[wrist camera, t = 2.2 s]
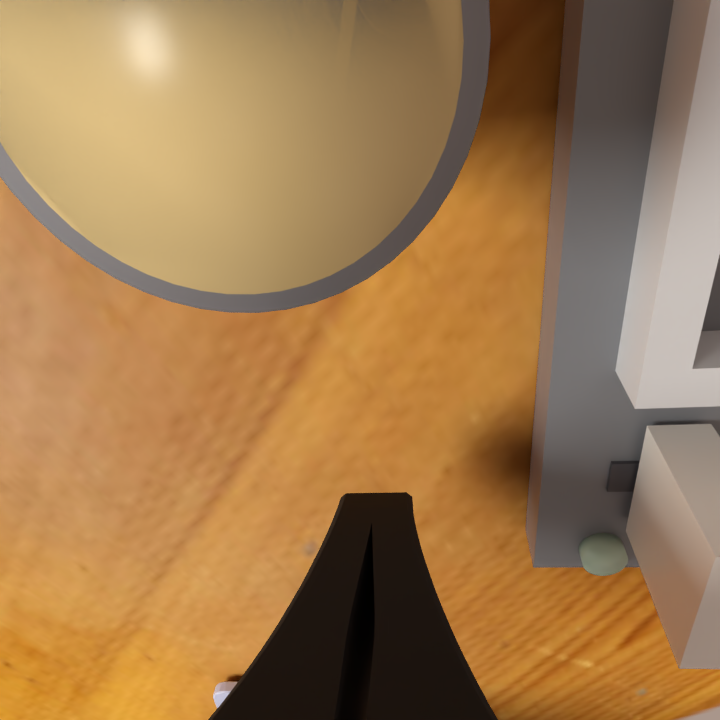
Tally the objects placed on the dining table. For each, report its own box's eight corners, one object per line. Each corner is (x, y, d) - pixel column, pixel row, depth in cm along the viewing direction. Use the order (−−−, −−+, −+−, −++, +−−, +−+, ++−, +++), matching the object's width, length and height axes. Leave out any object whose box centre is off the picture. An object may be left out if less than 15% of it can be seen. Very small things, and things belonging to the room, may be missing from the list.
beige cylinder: (450, 147, 11) (486, 301, 6) (212, 166, 11) (49, 323, 6) (445, -179, 8) (498, -408, 3) (144, -137, 9) (-206, -283, 4)
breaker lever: (681, 529, 13) (750, 669, 11) (625, 530, 14) (679, 668, 11) (710, 423, 12) (800, 556, 9) (646, 425, 12) (715, 557, 9)
